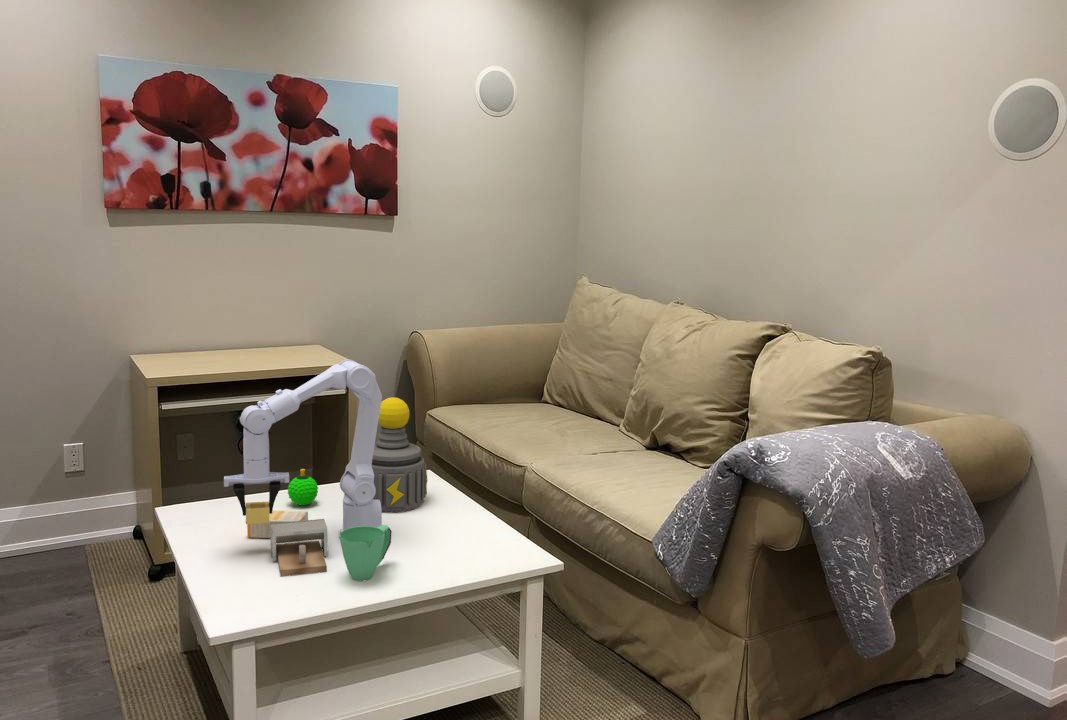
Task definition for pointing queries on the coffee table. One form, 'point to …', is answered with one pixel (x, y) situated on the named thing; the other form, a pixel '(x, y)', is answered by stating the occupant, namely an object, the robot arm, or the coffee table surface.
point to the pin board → (300, 558)
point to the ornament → (302, 489)
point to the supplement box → (276, 517)
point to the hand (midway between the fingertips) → (257, 513)
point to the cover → (299, 533)
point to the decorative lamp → (397, 461)
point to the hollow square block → (257, 512)
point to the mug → (364, 549)
